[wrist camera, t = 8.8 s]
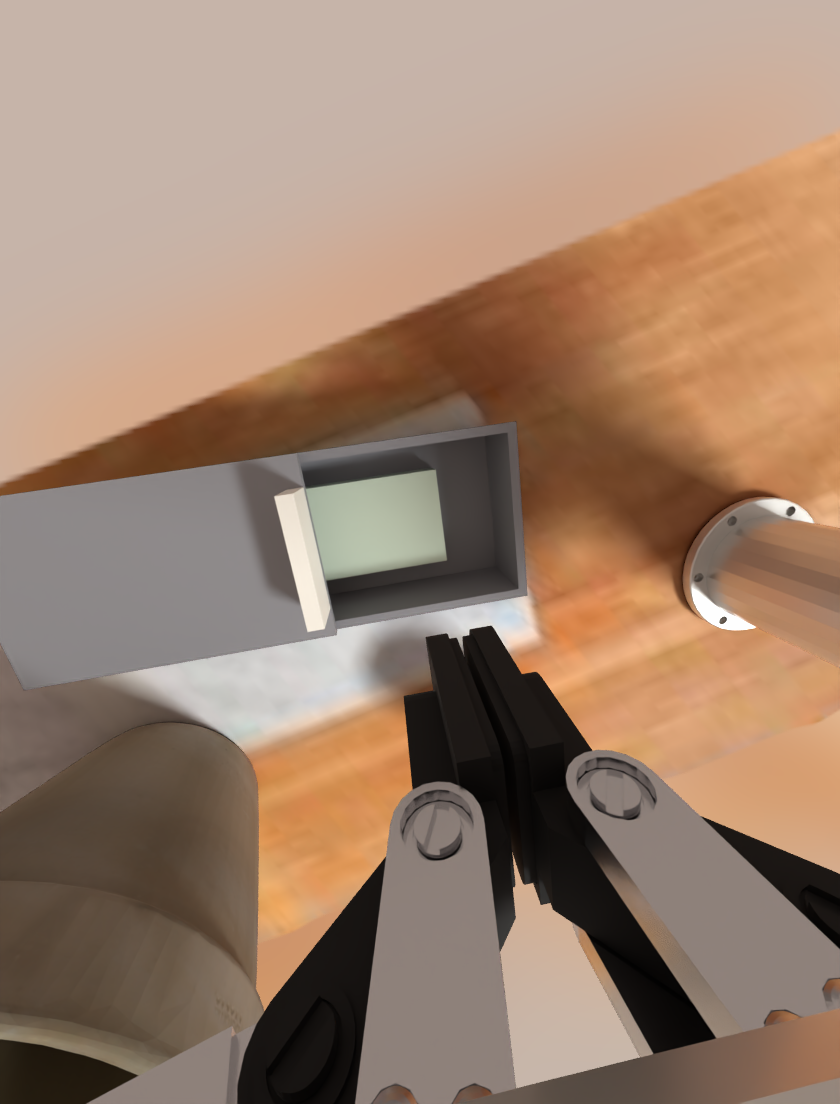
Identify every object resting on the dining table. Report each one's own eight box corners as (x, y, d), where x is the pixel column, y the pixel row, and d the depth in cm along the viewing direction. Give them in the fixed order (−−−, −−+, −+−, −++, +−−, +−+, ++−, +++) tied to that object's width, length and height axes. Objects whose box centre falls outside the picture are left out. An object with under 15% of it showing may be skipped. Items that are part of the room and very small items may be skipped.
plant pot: (189, 610, 32) (-163, 928, 11) (368, 794, 39) (359, 1200, 18) (-41, 770, 33) (-733, 1316, 12) (170, 919, 40) (-48, 1426, 19)
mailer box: (489, 425, 30) (516, 421, 25) (501, 569, 34) (527, 595, 28) (228, 463, 29) (192, 468, 23) (268, 609, 32) (245, 645, 27)
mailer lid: (297, 453, 23) (284, 454, 20) (337, 630, 27) (331, 658, 23) (-58, 504, 22) (-138, 515, 19) (31, 684, 25) (-22, 722, 22)
